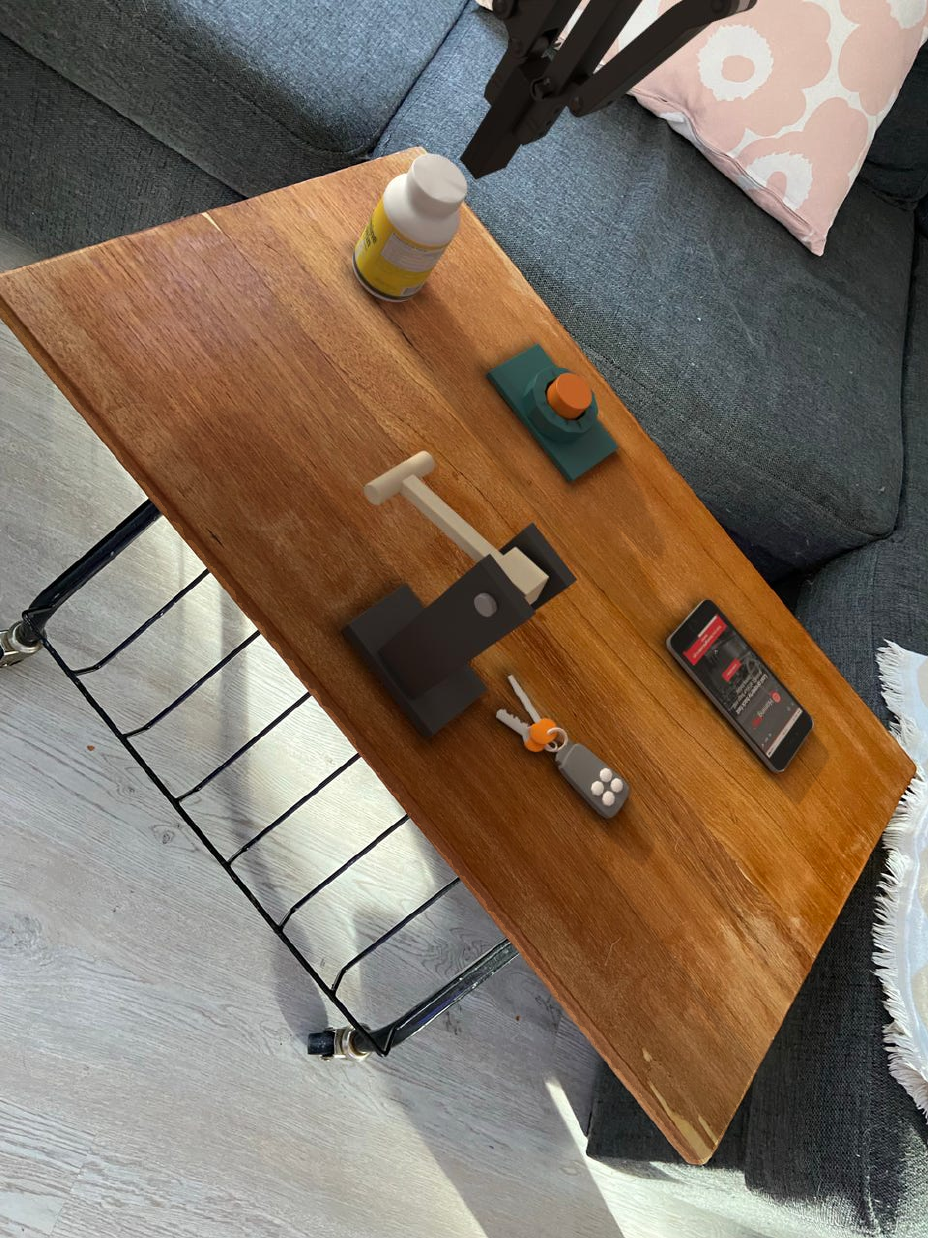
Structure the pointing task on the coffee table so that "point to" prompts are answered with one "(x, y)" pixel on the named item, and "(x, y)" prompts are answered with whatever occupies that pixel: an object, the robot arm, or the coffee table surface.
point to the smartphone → (741, 685)
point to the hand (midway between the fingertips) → (482, 162)
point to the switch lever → (453, 522)
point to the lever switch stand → (450, 632)
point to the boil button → (569, 396)
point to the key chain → (571, 760)
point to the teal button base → (551, 413)
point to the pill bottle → (410, 229)
